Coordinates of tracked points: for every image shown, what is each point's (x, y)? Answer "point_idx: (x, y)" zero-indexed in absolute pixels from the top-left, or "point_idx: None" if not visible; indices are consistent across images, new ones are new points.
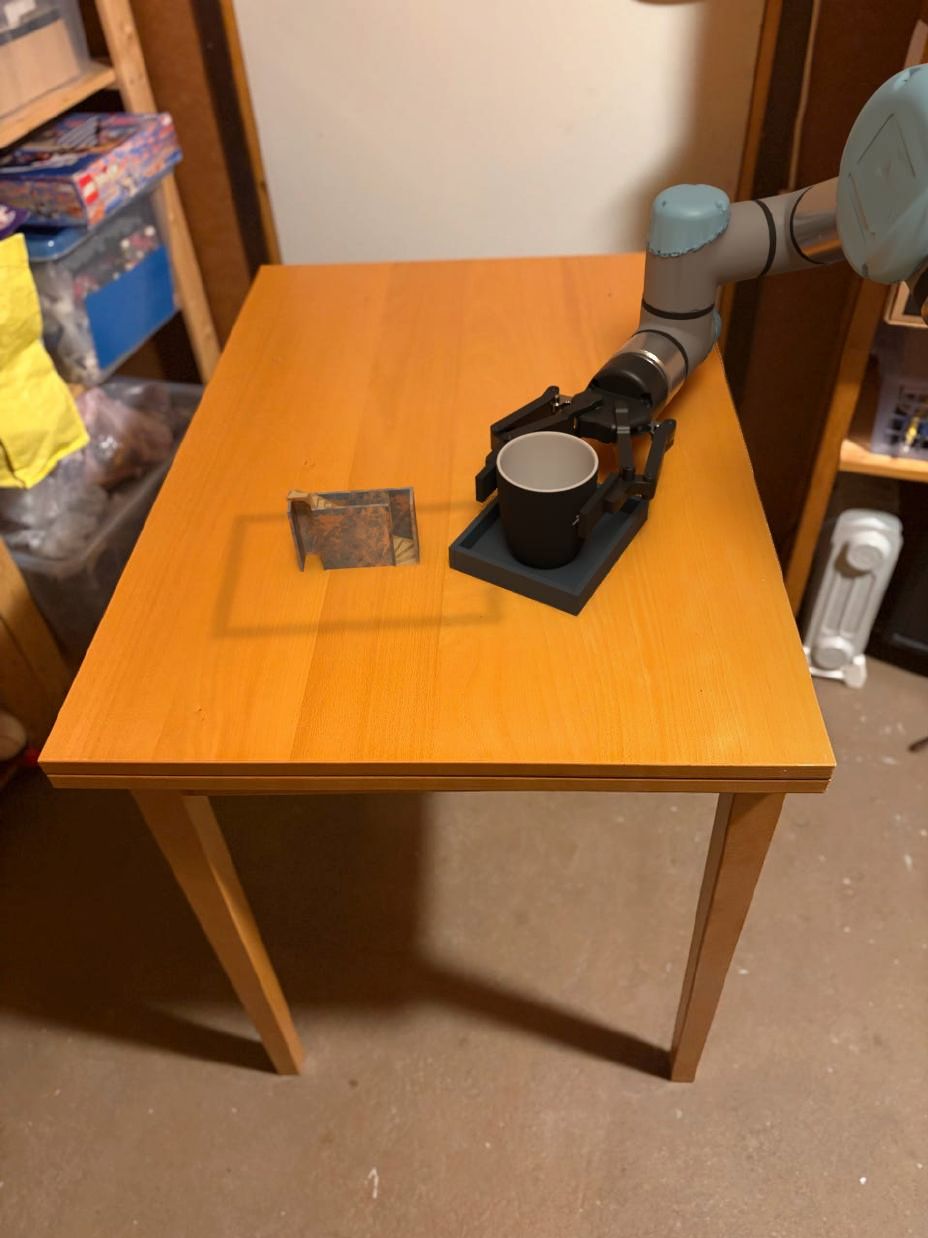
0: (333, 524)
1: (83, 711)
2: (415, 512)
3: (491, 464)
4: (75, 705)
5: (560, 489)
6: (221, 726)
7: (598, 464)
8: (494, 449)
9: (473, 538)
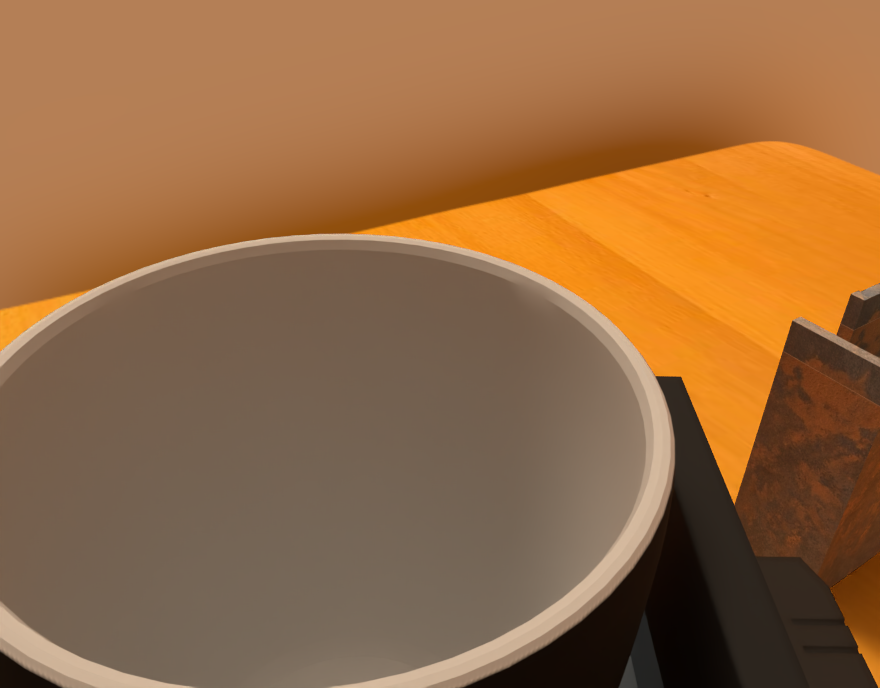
0: None
1: (831, 163)
2: (842, 462)
3: (695, 471)
4: (850, 164)
5: (157, 263)
6: (653, 191)
7: None
8: (858, 669)
9: (638, 643)
